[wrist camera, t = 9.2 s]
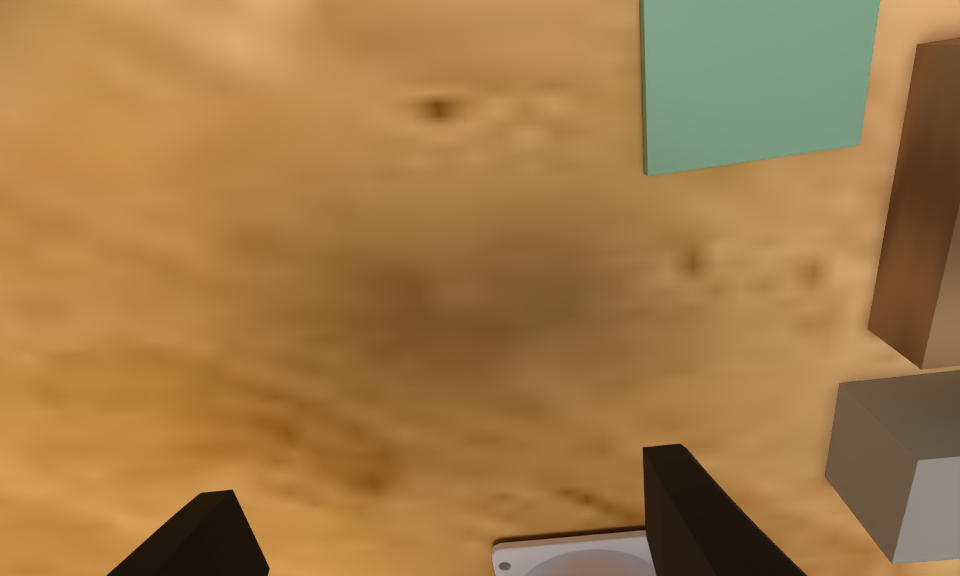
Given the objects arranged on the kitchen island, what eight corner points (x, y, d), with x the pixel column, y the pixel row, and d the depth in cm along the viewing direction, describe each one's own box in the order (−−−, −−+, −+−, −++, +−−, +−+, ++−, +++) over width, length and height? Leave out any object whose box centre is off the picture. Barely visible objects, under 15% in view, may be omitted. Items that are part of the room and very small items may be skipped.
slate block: (942, 463, 21) (1039, 552, 17) (823, 474, 21) (892, 564, 17) (969, 367, 19) (1083, 445, 15) (837, 381, 19) (918, 460, 15)
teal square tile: (850, 142, 15) (859, 145, 15) (644, 173, 16) (648, 176, 16) (883, -103, 13) (894, -107, 13) (638, -57, 14) (642, -60, 13)
